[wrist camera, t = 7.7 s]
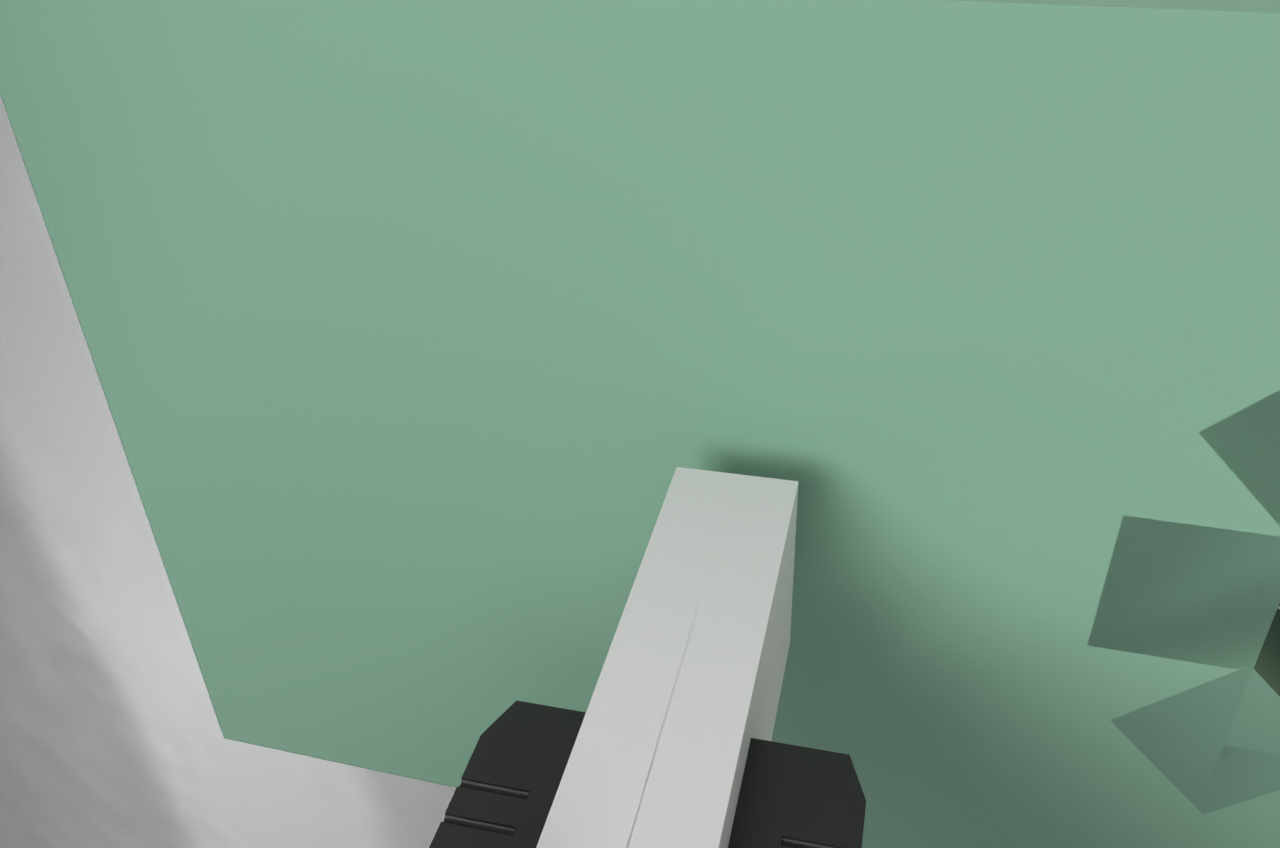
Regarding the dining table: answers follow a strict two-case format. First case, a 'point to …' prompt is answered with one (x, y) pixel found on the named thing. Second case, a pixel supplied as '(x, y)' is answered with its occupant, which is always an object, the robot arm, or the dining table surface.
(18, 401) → the dining table surface
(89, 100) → the mini golf green
